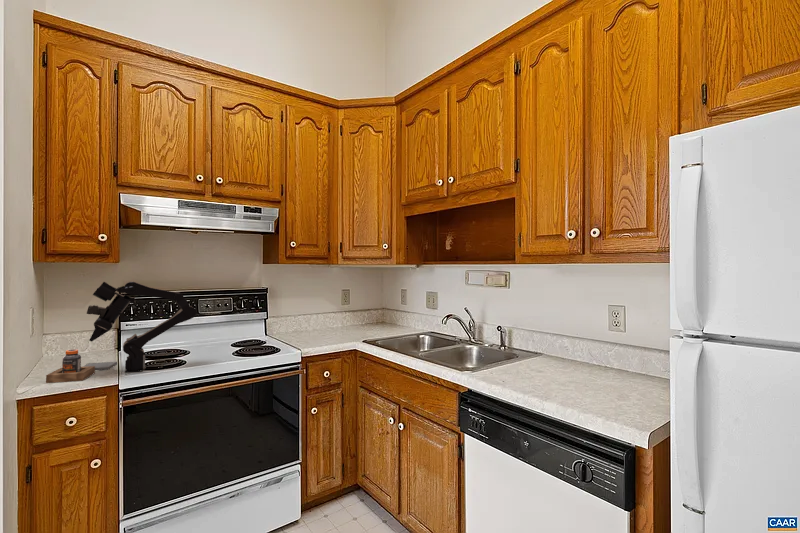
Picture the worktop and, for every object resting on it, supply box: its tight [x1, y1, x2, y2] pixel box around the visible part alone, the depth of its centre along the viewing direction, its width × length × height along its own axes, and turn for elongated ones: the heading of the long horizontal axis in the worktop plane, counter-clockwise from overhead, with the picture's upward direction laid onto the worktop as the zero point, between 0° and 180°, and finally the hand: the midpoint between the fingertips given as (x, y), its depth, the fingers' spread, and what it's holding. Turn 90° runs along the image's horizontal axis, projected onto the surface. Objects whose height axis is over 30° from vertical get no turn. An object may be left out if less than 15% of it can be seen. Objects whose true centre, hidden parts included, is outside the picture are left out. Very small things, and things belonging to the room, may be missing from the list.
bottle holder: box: [45, 366, 96, 384], centre depth 167 cm, size 12×12×3 cm
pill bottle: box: [61, 349, 82, 373], centre depth 167 cm, size 6×6×11 cm
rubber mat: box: [82, 361, 118, 371], centre depth 184 cm, size 11×11×1 cm
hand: (91, 339), depth 172 cm, fingers open, 9 cm apart
